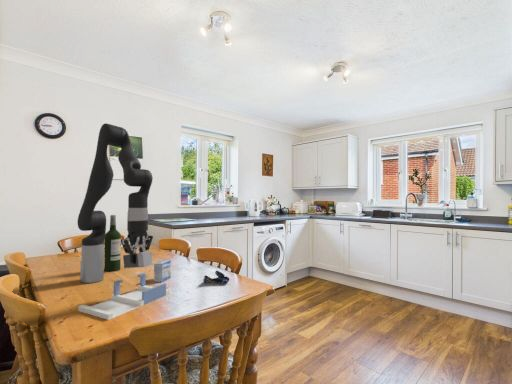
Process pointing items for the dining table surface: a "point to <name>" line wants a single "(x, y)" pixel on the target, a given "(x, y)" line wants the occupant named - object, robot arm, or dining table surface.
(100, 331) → the dining table surface
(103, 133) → the robot arm
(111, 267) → the wine bottle
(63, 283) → the dining table surface
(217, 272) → the black clip
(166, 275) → the medicine box
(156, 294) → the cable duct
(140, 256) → the grey rectangular blocks
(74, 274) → the dining table surface
